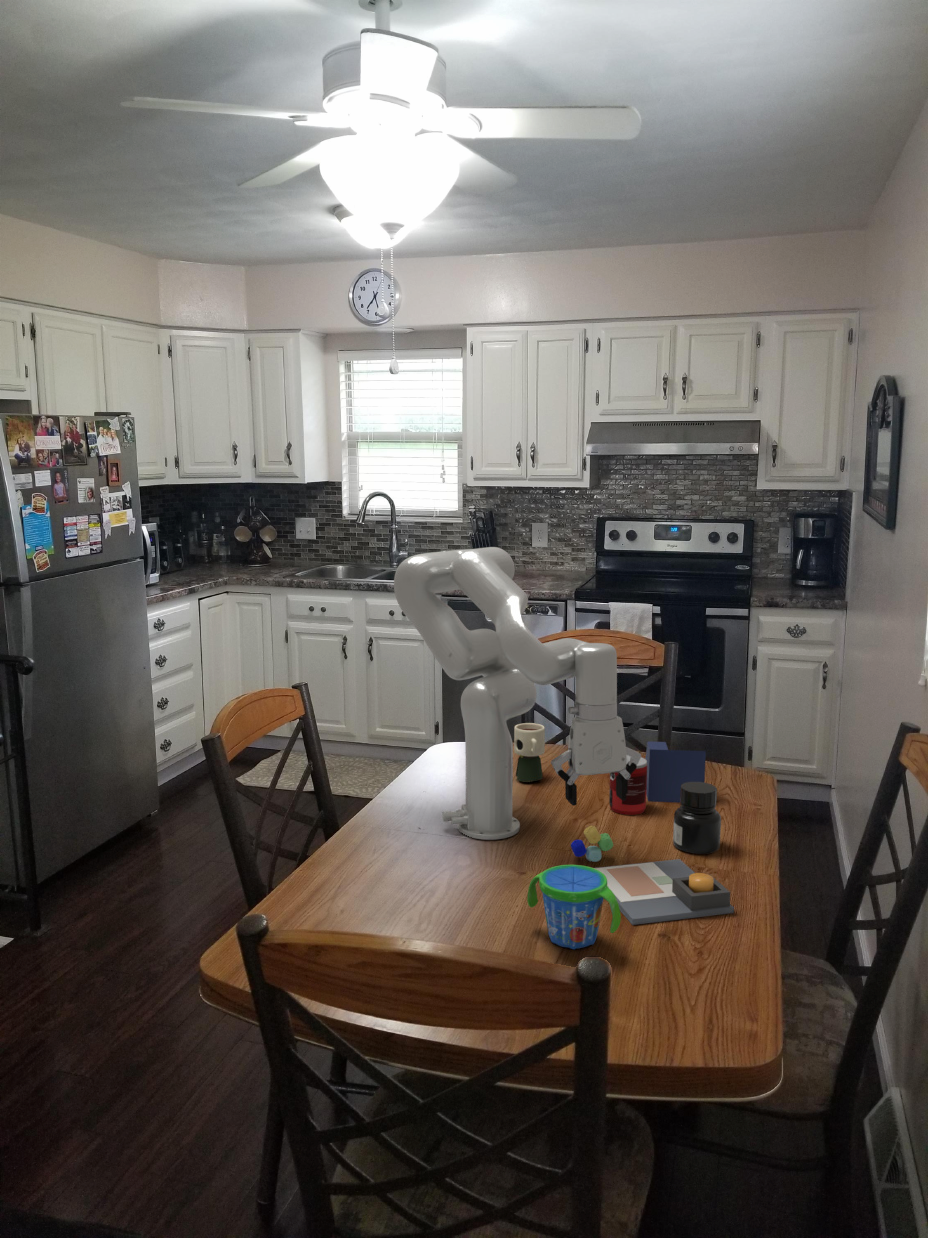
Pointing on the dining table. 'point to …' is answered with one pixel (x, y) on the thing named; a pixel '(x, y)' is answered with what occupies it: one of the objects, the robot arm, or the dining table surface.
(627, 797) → the canned food
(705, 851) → the ink bottle
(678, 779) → the phone stand
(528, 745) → the character mug
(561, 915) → the snack cup
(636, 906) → the colouring board
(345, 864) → the dining table surface
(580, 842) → the dice
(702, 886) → the button
